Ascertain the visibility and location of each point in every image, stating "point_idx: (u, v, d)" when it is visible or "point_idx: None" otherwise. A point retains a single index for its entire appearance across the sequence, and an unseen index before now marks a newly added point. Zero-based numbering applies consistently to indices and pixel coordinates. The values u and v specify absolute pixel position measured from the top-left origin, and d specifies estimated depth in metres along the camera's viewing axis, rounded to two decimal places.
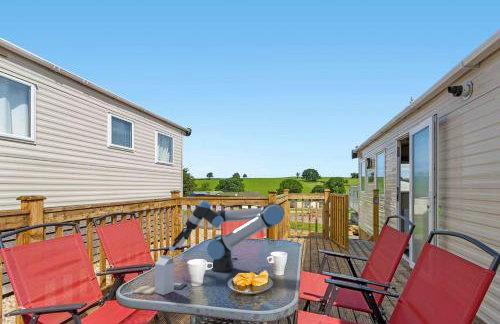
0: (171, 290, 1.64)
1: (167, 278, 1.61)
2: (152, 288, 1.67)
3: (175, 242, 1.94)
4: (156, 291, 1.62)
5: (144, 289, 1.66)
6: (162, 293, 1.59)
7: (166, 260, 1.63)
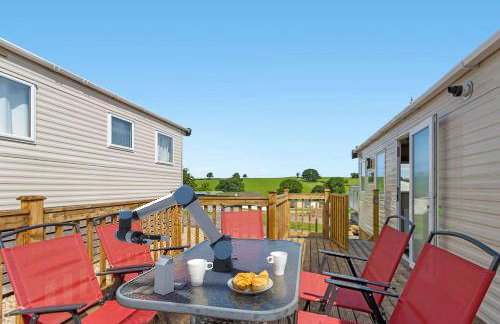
0: (171, 290, 1.64)
1: (167, 278, 1.61)
2: (152, 288, 1.67)
3: (141, 241, 1.74)
4: (156, 291, 1.62)
5: (144, 289, 1.66)
6: (162, 293, 1.59)
7: (166, 260, 1.63)
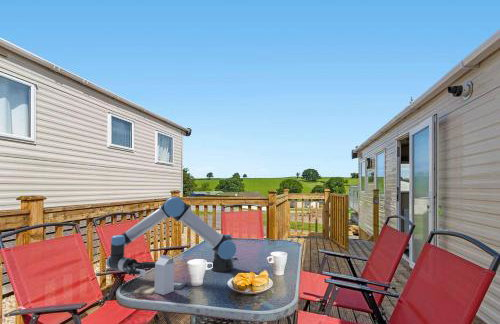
0: (171, 290, 1.64)
1: (167, 278, 1.61)
2: (152, 288, 1.67)
3: (133, 272, 1.64)
4: (156, 291, 1.62)
5: (144, 289, 1.66)
6: (162, 293, 1.59)
7: (166, 260, 1.63)
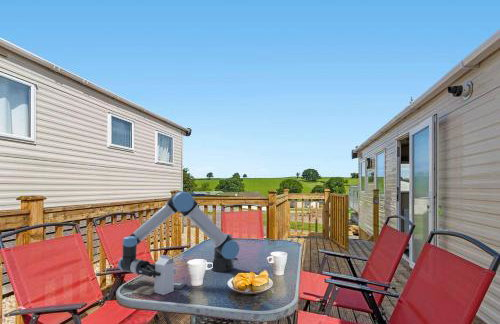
0: (171, 290, 1.64)
1: (167, 278, 1.61)
2: (152, 288, 1.67)
3: (154, 274, 1.60)
4: (156, 291, 1.62)
5: (144, 289, 1.66)
6: (162, 293, 1.59)
7: (166, 260, 1.63)
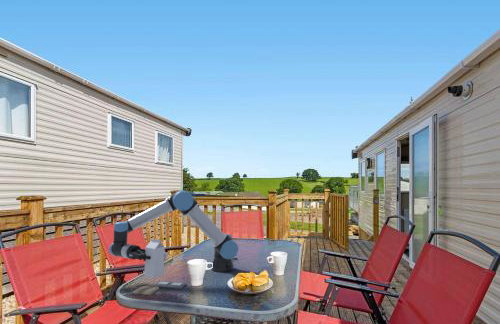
0: (161, 274, 1.65)
1: (157, 261, 1.63)
2: (152, 288, 1.67)
3: (144, 257, 1.62)
4: (146, 274, 1.63)
5: (144, 289, 1.66)
6: (152, 276, 1.61)
7: (156, 244, 1.64)
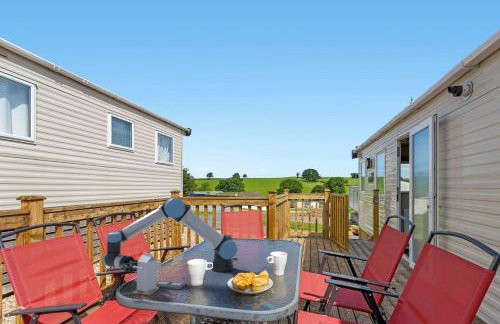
0: (153, 287, 1.65)
1: (149, 275, 1.63)
2: None
3: (130, 269, 1.61)
4: (138, 288, 1.63)
5: None
6: (144, 290, 1.61)
7: (148, 257, 1.65)
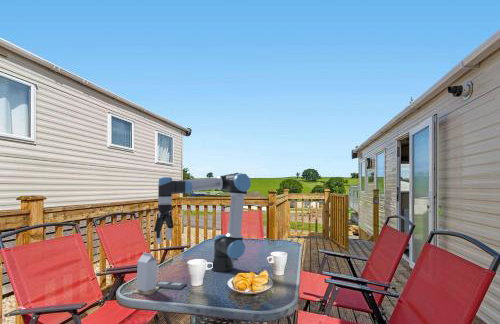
0: (153, 287, 1.65)
1: (149, 275, 1.63)
2: None
3: (157, 232, 1.69)
4: (138, 288, 1.63)
5: None
6: (144, 290, 1.61)
7: (148, 257, 1.65)
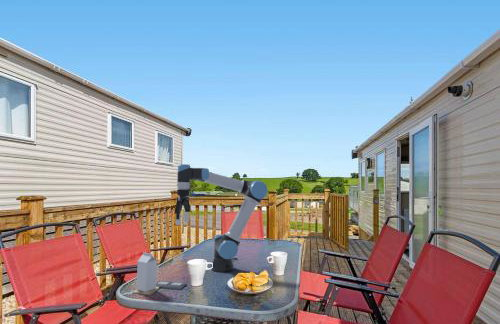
0: (153, 287, 1.65)
1: (149, 275, 1.63)
2: None
3: (177, 214, 1.84)
4: (138, 288, 1.63)
5: None
6: (144, 290, 1.61)
7: (148, 257, 1.65)
